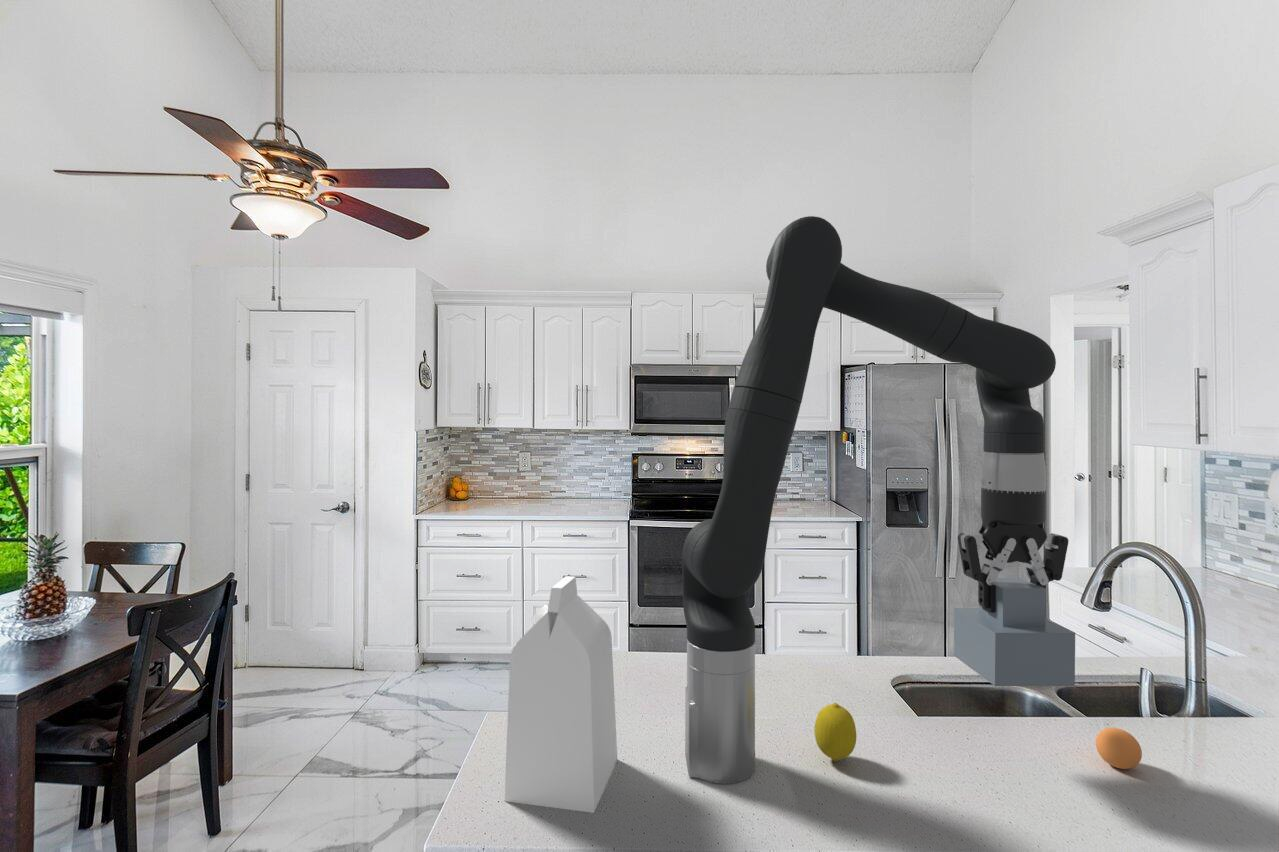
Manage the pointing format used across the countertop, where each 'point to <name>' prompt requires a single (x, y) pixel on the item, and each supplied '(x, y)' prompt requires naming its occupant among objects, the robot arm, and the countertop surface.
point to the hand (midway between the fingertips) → (1011, 610)
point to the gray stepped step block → (1015, 639)
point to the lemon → (835, 732)
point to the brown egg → (1118, 748)
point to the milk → (561, 707)
